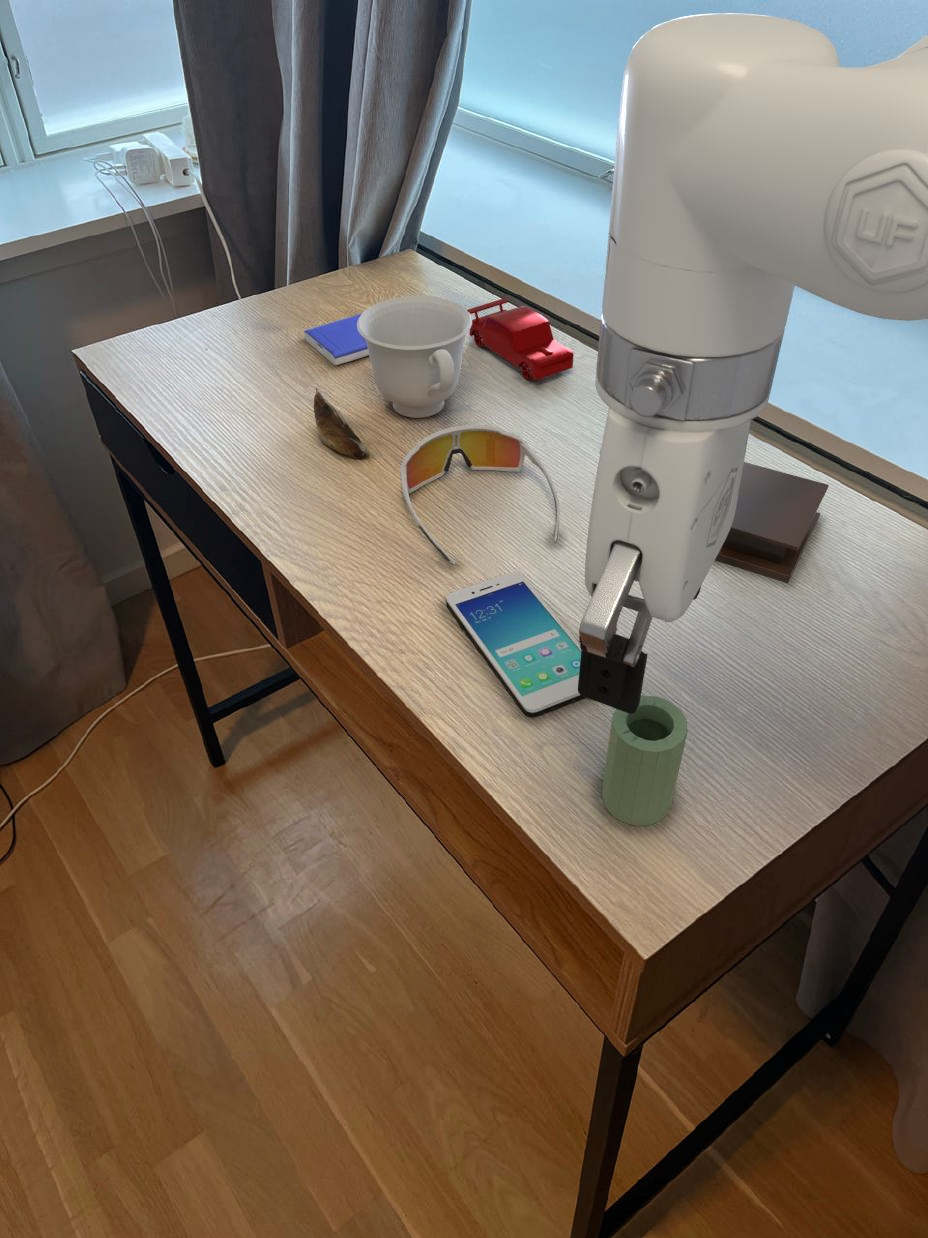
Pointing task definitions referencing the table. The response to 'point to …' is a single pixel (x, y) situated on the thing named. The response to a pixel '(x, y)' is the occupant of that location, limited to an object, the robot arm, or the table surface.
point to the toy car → (521, 340)
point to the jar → (644, 761)
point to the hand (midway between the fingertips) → (641, 642)
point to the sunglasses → (479, 452)
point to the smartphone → (520, 641)
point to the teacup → (415, 350)
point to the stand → (771, 521)
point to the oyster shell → (336, 429)
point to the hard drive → (338, 340)
